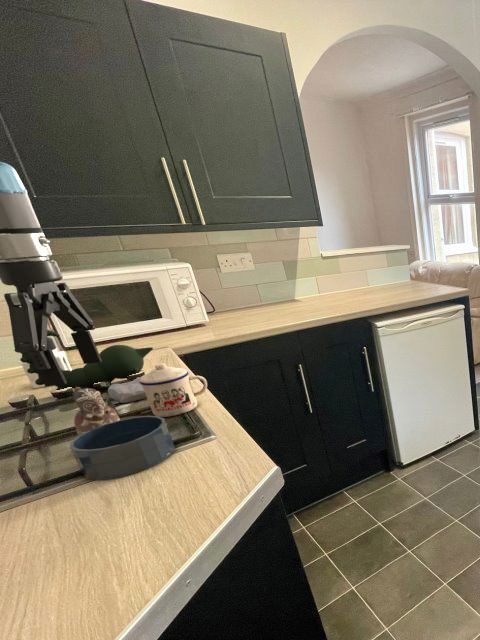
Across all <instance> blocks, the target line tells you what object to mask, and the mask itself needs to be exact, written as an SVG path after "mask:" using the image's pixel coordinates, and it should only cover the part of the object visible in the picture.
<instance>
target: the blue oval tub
mask: <svg viewBox="0 0 480 640" xmlns="http://www.w3.org/2000/svg"><path fill="white" fill-rule="evenodd" d="M175 448H176V447H175V444H174V441H173V437H172V436H171V432H170V430H169V428H168V425H167V423H166V420H165V417H159V416H155V415H143V416H133V417H128V418H123V419H120V420H118V421H115V422H111V423H108V424H105V425H102V426H99V427H97V428H94V429H91V430H89V431H87V432H85V433H83V434H81V435H80V436H78V435H77V436H76V437H75V438H74V439H73V440H72V441H70V444H69V449H70V451H71V453H72V455H73V457H74V459H75V462H76V463H77V466H78V467H79V469H80V472H81V473H82V475H83V476H84V477H85V478H87V479H89V480H95V481H105V480H113V479H119V478H123V477H126V476H130V475H133V474H136V473H140V472H142V471H144V470H147V469H150V468H151V467H154V466H156V465H158V464H160V463H162V462H163V461H165V460H166V459H168V458H169V457H170V456H171V455H172V454H173V453H174V451H175Z"/></svg>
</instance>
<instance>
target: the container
mask: <svg viewBox="0 0 480 640" xmlns="http://www.w3.org/2000/svg"><path fill="white" fill-rule="evenodd" d="M47 349H52V351H53V354H54V356H55V358H56V360H57V362H58V364H59V366H60V368H61V369H62V370H69V371H71V370H73V369H72V367H71V365H70V362H69V360H68V358H67V356H66V353H65V351H62V350H61V351H58V348H57V346H56V344H55V342H54V339H53V338H52V337H51V336H47ZM20 365H21V366H22V368H23V371H24V372H25V374H26V376H27V378H28V381H29V383H30V385H31V387H32V388H33V389H39V388H47V387H46V386H45V384H44V385H37V384H36V383H35V381H36V380H37V379H38V378H39V377H38V374H37V373H33V374H30V373H28V372H27V370H28V369H29V368H30V367H29V365H30V364H29V363H24V362H22V361H21V363H20Z"/></svg>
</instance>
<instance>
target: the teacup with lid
mask: <svg viewBox="0 0 480 640" xmlns="http://www.w3.org/2000/svg"><path fill="white" fill-rule="evenodd" d="M143 375H144V376H143ZM143 375H142V377H141V378H140V384H142V386H143V389H144V391H145V394H146V397H147V398H146V399H147V402H148V404H149V407H150V409H151V411H152V414H153V416H159V417H161V418H169V417H175V416H178V415H183V414H185V413H188V412H190V411H192V410H194V409H195V408H196V407H197V406H198V401H197V398H196V397H198V396H201V395H203V394H204V393H205V392H206V390H207V388H208V381H207V379H206V377H203V376H201V375H192V376H189V372H188V371H187V369H186V368H183V367H173V366H167V364H166V363H163V362H162V363H157V364H155V365H154V369H152V370H150V371H149V372H148V373H145V374H143ZM193 380H199V381H202V382H203V386H202V388H201V390H199V391H197V392H194V389H193V386H192V384H191V381H193Z"/></svg>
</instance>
